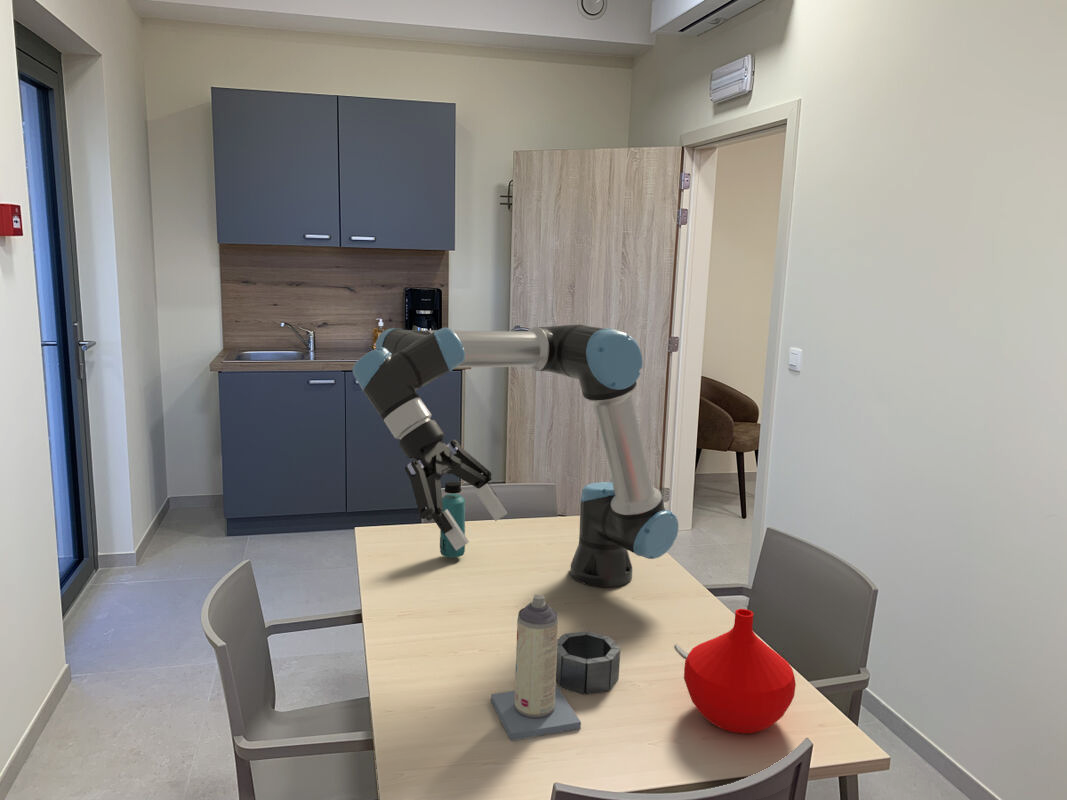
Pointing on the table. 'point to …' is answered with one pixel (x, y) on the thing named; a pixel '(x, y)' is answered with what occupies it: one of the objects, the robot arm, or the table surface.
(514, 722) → the rubber mat
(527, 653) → the aerosol can
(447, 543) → the beverage bottle
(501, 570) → the table surface
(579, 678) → the ring
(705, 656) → the vase
